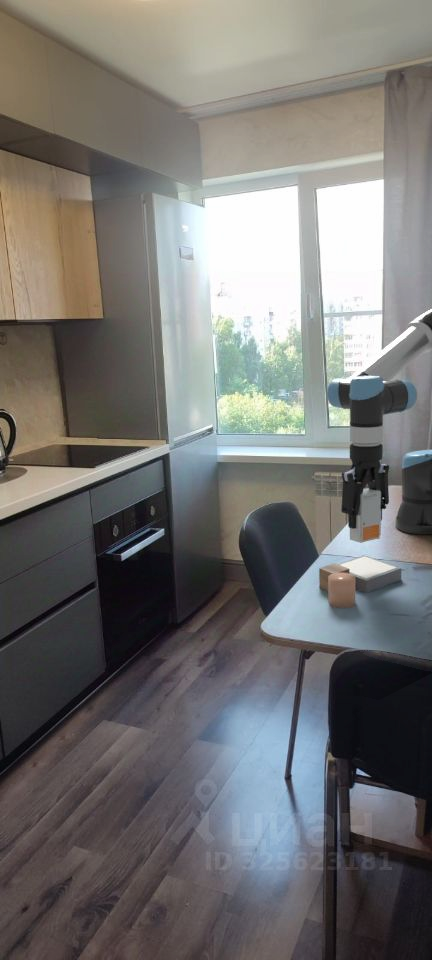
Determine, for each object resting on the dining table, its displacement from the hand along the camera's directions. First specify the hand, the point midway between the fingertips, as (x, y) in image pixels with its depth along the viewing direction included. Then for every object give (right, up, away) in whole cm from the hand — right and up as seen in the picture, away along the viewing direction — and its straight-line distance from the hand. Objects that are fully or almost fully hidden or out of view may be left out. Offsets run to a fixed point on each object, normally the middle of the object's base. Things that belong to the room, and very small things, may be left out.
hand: (365, 537), depth 162 cm
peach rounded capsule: (-8, -14, -10) cm, 19 cm away
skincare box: (0, -1, 0) cm, 1 cm away
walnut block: (-8, -12, -2) cm, 14 cm away
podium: (+1, -10, +3) cm, 11 cm away
